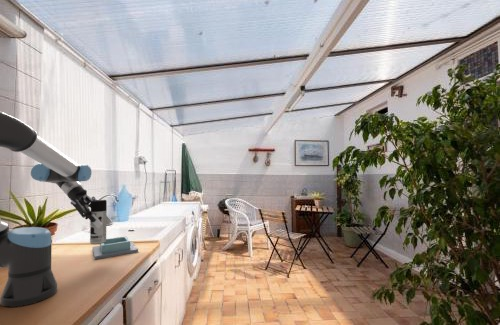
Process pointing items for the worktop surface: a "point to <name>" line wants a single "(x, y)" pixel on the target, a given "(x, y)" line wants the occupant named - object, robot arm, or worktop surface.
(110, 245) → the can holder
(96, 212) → the spray can
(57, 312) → the worktop surface
